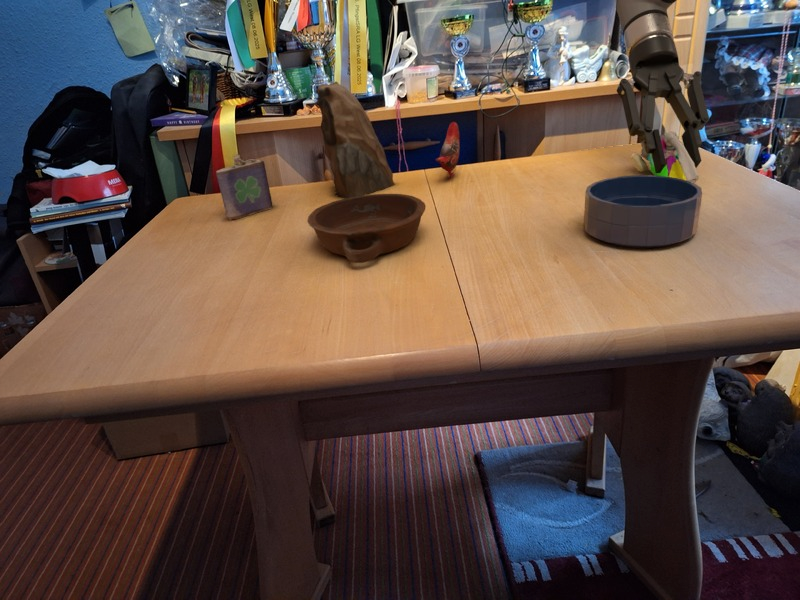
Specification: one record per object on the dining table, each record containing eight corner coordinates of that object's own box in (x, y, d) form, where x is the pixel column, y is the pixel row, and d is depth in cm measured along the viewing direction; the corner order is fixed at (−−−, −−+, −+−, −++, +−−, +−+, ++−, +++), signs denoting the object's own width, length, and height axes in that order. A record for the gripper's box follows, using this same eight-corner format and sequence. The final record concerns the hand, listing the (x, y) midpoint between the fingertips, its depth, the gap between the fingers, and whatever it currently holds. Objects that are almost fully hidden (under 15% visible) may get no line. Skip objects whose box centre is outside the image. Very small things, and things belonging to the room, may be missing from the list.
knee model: (666, 235, 88) (635, 172, 108) (722, 214, 84) (680, 153, 104) (648, 187, 84) (619, 131, 104) (706, 162, 80) (665, 109, 100)
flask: (230, 221, 101) (215, 162, 96) (224, 218, 103) (209, 160, 98) (275, 207, 106) (264, 150, 101) (268, 205, 108) (256, 149, 103)
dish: (424, 212, 94) (421, 183, 92) (432, 264, 74) (429, 228, 72) (321, 223, 95) (316, 194, 93) (303, 276, 75) (296, 242, 73)
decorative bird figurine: (465, 168, 118) (462, 119, 113) (445, 193, 103) (442, 138, 99) (451, 168, 119) (449, 120, 114) (430, 193, 104) (426, 138, 99)
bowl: (651, 209, 85) (655, 170, 82) (720, 239, 72) (728, 194, 70) (565, 225, 82) (566, 185, 80) (621, 259, 70) (625, 213, 67)
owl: (347, 201, 105) (330, 88, 96) (309, 192, 113) (290, 88, 104) (397, 184, 112) (385, 77, 103) (357, 177, 120) (344, 78, 111)
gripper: (694, 59, 100) (724, 174, 93) (593, 70, 101) (615, 183, 94) (712, 27, 93) (747, 148, 86) (604, 39, 94) (629, 159, 87)
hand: (678, 166), depth 90 cm, fingers closed on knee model, 5 cm apart
